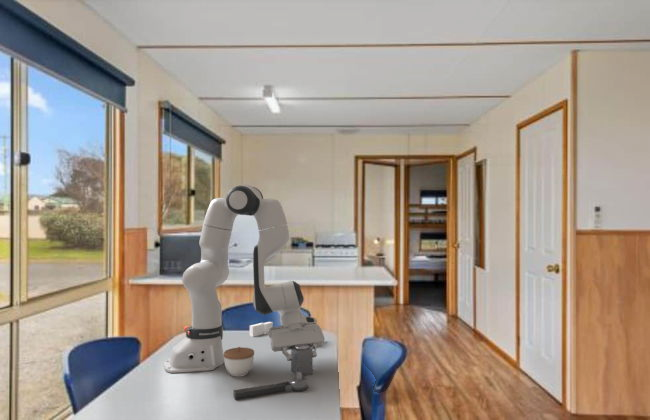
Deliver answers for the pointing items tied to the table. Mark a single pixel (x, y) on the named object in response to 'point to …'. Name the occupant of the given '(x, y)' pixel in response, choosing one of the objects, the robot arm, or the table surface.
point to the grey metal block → (302, 359)
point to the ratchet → (274, 388)
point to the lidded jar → (239, 360)
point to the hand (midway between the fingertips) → (302, 358)
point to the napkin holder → (260, 329)
